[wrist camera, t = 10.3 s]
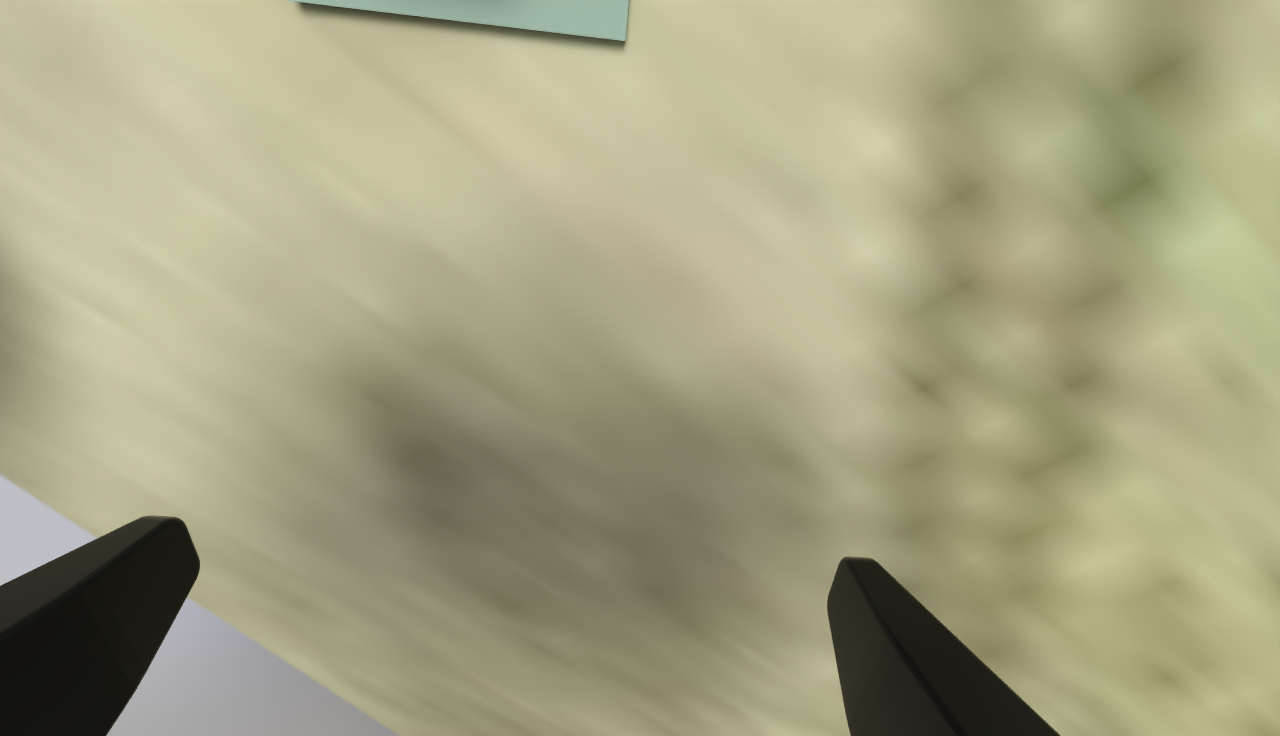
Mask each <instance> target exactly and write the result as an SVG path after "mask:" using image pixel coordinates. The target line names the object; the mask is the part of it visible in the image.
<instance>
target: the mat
mask: <svg viewBox="0 0 1280 736" xmlns="http://www.w3.org/2000/svg"><path fill="white" fill-rule="evenodd" d="M288 1H295V2H302V3H311V4H319V5H328V6H336V7H344V8H353V9H361V10H369V11H378V12H386V13H394V14H403V15H411V16H420V17H428V18H436V19H445V20H453V21H461V22H470V23H478V24H486V25H495V26H503V27H512V28H520V29H528V30H537V31H545V32H553V33H562V34H570V35H578V36H587V37H595V38H604V39H612V40H620V41H626V32H627V20H628V8H629V0H288Z"/></svg>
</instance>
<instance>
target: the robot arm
mask: <svg viewBox="0 0 1280 736" xmlns="http://www.w3.org/2000/svg"><path fill="white" fill-rule="evenodd" d="M199 569H200V560H199V556H198V554H197V551H196V549H195V546H194V544H193V542H192V539H191V537H190V534H189V532H188V529H187V527H186V525H185V523H184V522H183V521H182V520H181V519H180V518H177V517H167V516H145V517H141V518H139V519H137V520H135V521H132V522H130V523H128V524H126V525H124V526H122V527H120V528H118V529H116V530H114V531H112V532H110V533H108V534H106V535H104V536H102V537H100V538H98V539H96V540H93V541H91V542H89V543H87V544H85V545H83V546H81V547H79V548H77V549H75V550H73V551H71V552H69V553H67V554H65V555H63V556H61V557H59V558H57V559H55V560H52V561H50V562H48V563H46V564H44V565H42V566H40V567H38V568H36V569H34V570H32V571H30V572H28V573H26V574H24V575H22V576H20V577H18V578H16V579H13V580H12V581H9V582H7V583H5V584H3V585H1V586H0V736H106V735H107V734H108V732H109V731H110V729H111V728H112V726H113V725H114V723H115V722H116V720H117V719H118V717H119V716H120V714H121V713H122V711H123V710H124V708H125V706H126V705H127V703H128V702H129V700H130V698H131V697H132V695H133V694H134V692H135V691H136V689H137V687H138V685H139V684H140V682H141V680H142V678H143V677H144V675H145V673H146V671H147V670H148V668H149V666H150V664H151V662H152V660H153V658H154V657H155V655H156V653H157V651H158V649H159V647H160V646H161V644H162V642H163V640H164V638H165V636H166V635H167V633H168V631H169V629H170V627H171V625H172V623H173V622H174V620H175V618H176V616H177V614H178V612H179V610H180V609H181V607H182V605H183V603H184V601H185V599H186V598H187V596H188V594H189V592H190V590H191V588H192V587H193V585H194V583H195V581H196V579H197V576H198V573H199ZM827 610H828V618H829V623H830V629H831V634H832V640H833V645H834V651H835V657H836V662H837V668H838V673H839V679H840V685H841V690H842V696H843V701H844V707H845V712H846V717H847V722H848V726H849V730H850V734H851V736H1060V735H1059V734H1058V733H1057V732H1056V731H1055V730H1054V729H1053V728H1052V727H1051V726H1050V725H1049V724H1048V723H1047V722H1046V721H1045V720H1043V719H1042V718H1041V717H1040V716H1039V715H1038V714H1037V713H1036V712H1035V711H1034V710H1033V709H1032V708H1031V707H1030V706H1029V705H1028V704H1027V703H1026V702H1024V701H1023V700H1022V699H1021V698H1020V697H1019V696H1018V695H1017V694H1016V693H1015V692H1014V691H1013V690H1012V689H1011V688H1010V687H1009V686H1008V685H1007V684H1005V683H1004V682H1003V681H1002V680H1001V679H1000V678H999V677H998V676H997V675H996V674H995V673H994V672H993V671H992V670H991V669H990V668H989V667H987V666H986V665H985V664H984V663H983V662H982V661H981V660H980V659H979V658H978V657H977V656H976V655H975V654H974V653H973V652H972V651H971V650H970V649H968V648H967V647H966V646H965V645H964V644H963V643H962V642H961V641H960V640H959V639H958V638H957V637H956V636H955V635H954V634H953V633H952V632H951V631H949V630H948V629H947V628H946V627H945V626H944V625H943V624H942V623H941V622H940V621H939V620H938V619H937V618H936V617H935V616H934V615H933V614H932V613H930V612H929V611H928V610H927V609H926V608H925V607H924V606H923V605H922V604H921V603H920V602H919V601H918V600H917V599H916V598H915V597H914V596H913V595H911V594H910V593H909V592H908V591H907V590H906V589H905V588H904V587H903V586H902V585H901V584H900V583H899V582H898V581H897V580H896V579H895V578H894V577H892V576H891V575H890V574H889V573H888V572H887V571H886V570H885V569H884V568H883V567H882V566H881V565H880V564H879V563H878V562H876V561H875V560H873V559H871V558H861V557H844V558H843V559H842V560H841V561H840V563H839V565H838V568H837V571H836V574H835V577H834V580H833V583H832V586H831V589H830V592H829V595H828V601H827Z"/></svg>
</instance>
